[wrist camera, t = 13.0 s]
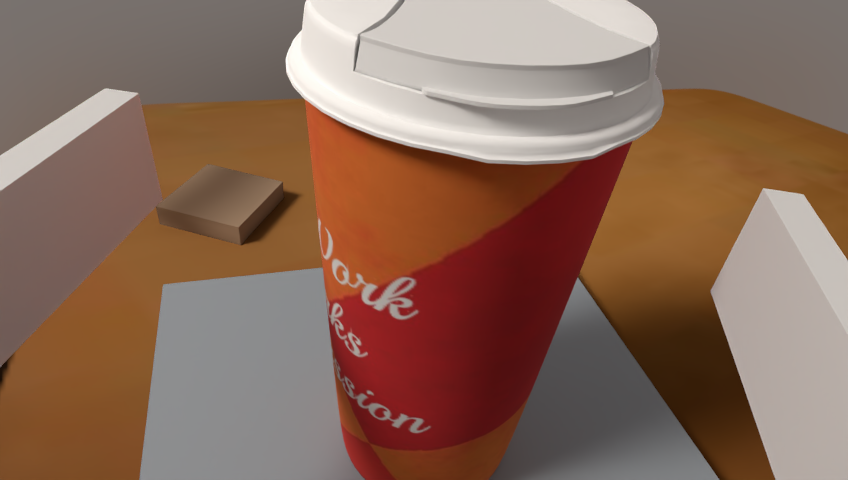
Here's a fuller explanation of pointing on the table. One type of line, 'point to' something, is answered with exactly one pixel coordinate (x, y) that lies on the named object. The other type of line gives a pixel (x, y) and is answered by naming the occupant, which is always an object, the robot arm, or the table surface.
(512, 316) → the paper cup
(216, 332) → the slate board
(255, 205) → the block
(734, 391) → the table surface
